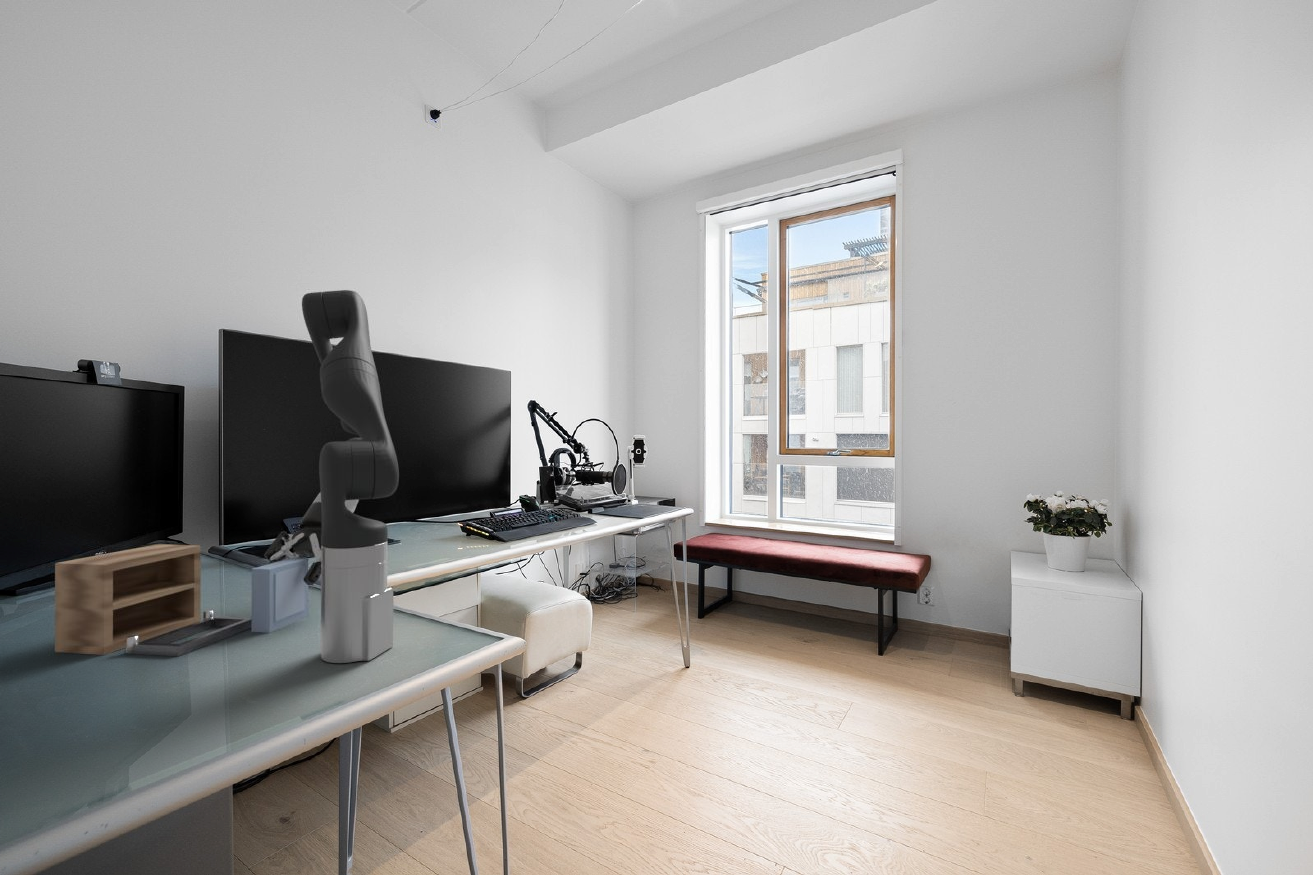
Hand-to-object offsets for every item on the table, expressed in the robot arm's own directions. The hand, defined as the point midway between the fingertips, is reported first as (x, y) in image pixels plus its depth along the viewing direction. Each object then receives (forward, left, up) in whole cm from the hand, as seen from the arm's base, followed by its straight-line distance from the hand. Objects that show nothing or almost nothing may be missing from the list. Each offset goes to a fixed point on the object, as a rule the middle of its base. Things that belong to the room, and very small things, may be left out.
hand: (286, 582), depth 103 cm
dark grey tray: (+7, +10, -7) cm, 15 cm away
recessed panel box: (0, +1, -7) cm, 7 cm away
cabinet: (+20, +10, -7) cm, 24 cm away
